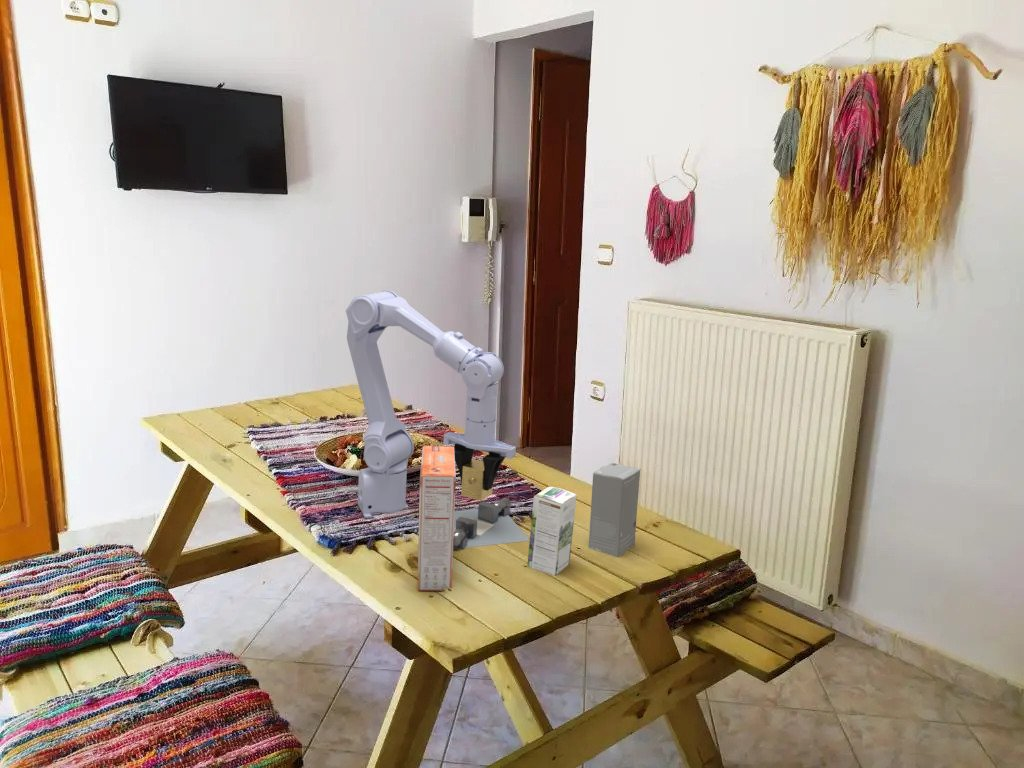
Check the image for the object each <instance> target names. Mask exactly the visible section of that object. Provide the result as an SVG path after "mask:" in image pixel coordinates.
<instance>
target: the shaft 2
mask: <svg viewBox="0 0 1024 768" xmlns="http://www.w3.org/2000/svg"><path fill="white" fill-rule="evenodd" d="M511 506H512V502H511V499H510V498H508V497H503V498H502V499H499V500H498V501H495V502H493V503H491V502H488V501H483V500H482V501H481V502H480V503H478V508H477V509H478V519H480V520H483V521H486V522H489V523H491V524H493V523H495V522H497V521H498V515H500V516H503V517H505V516H506V515H510V514H511V513H510V512H511Z"/></svg>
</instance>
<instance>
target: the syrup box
mask: <svg viewBox="0 0 1024 768" xmlns="http://www.w3.org/2000/svg"><path fill="white" fill-rule="evenodd" d="M577 496H578V494H576V493H575V492H572V491H568V490H566V489H563V488H560V487H555V486H547V487H546V488H544V489H543V490H542V491H540V492H539V493H537V494H535V495H533V500H532V501H533V502H532V511H531V512H532V514H531V522H530V523H531V524H530V534H529V535H530V536H529V539H530V541H529V544H528V553H527V554H528V556H527V565H526V567H528V568H531V569H533V570H536V571H538V572H543V573H545V574H549V575H552V576H557V575H558V574H559V573H561V572H562V571H563V570H564V569H565V568H566V567H567V566H569V565H570V563H571V562H570V561H571V552H572V543H573V535H574V534H573V533H574V527H575V526H574V525H575V516H576V515H575V514H576V507H577V506H576V504H577V498H578V497H577Z"/></svg>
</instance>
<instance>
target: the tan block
mask: <svg viewBox="0 0 1024 768" xmlns="http://www.w3.org/2000/svg"><path fill="white" fill-rule="evenodd" d="M484 477H485V472H484V463H483V460H482V461H481V460H478V459H472V461H471V462H469V463H467V464H465V465H464V466H463V473H462V484H461V491H460V492H461V493H460V494H461V497H466V498H469V499H473V500H477V501H481V502H483V500H485V499H486V498H488V497H489V496H491V495H492V494H493V487H494V485H493V486H492V488H491V489H489V490H488V491H486V490H484Z"/></svg>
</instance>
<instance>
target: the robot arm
mask: <svg viewBox="0 0 1024 768" xmlns="http://www.w3.org/2000/svg"><path fill="white" fill-rule="evenodd" d="M345 313H346V317H347V321H348V323H347V332H346V341H347V346H348V349H349V353H350V357H351V361H352V365H353V369H354V372H355V377H356V380H357V384H358V386H359V387H358V388H359V393H360V395H361V399H362V402H363V407H364V411H365V415H366V419H367V422H368V426H367V428H366V431H365V432H364V435H363V438H362V439H363V444H364V450H363V458H364V462H365V464H366V465H367V466H368V467H366V468H365V467H364V468H361V469H359V471H358V485H357V486H358V498H357V500H358V501H357V504H358V507H359V509H360V511H361V513H362V516H363V517H364V519H367V518H375V516H374V515H373V514H375V513H395V512H399V511H401V510H403V509H405V508H409V505H408V503H407V500H406V499H407V477H408V476H407V472H408V467H407V466H408V461H409V458H410V457H412V455H413V454H414V451H415V444H414V440H413V438H412V437H411V435H410V434H409V433H408V430H407V428H406V424H405V423H404V422H402V420H400V419H399V418H397V416H396V413H395V409H394V404H393V401H392V397H391V393H390V390H389V386H388V381H387V377H386V374H385V373H386V372H385V370H384V366H383V362H382V358H381V354H380V350H379V346H378V341H379V339H380V337H381V336H382V334H383V332H384V331H385V330H386V329H387V328H388V327H401V328H402V329H403V330H405V331H407V332H409V333H410V334H411V335H413V336H415V337H417V338H418V339H419V340H421V341H423V342H424V343H426V344H428V345H429V346H431V347H432V349H433V354H434V356H435V357H436V358H437V359H439V360H440V361H442V363H444V364H446V365H447V366H448V367H450V368H451V369H453V370H454V371H456V372H457V373H458V374H460V375H461V377H462V380H463V383H464V385H465V386H466V403H465V404H466V405H465V419H464V421H465V423H464V433H460V432H452V431H449V432H445V433H443V444H444V445H447V446H449V445H454V446H453V447H454V454H455V465H456V467H457V469H458V473H459V477H460V483H461V485H462V473H463V466H464V465H465V464H467V463H469V462H471V461H472V460H473V455H474V452H475V451H480V452H483V453H488V454H486V455H484V456H483V457H482V462H483V463H484V472H485V477H484V490H486V491H488V490H489V489H491V488H492V486H493V487H494V483H495V479H496V476H497V475H498V471H499V469H500V467H501V465H502V463H503V462H504V460H505V459H507V460H512V459H514V458H515V457H516V450H517V446H514V445H511V444H507V443H505V442H503V441H500V440H498V439H496V423H497V407H498V391H499V390H498V389H499V387H498V386H499V382H498V381H500V380H501V379H502V377H503V375H504V371H505V367H504V364H503V361H502V359H501V358H500V357H499V356H497V354H496V353H495V352H489V351H488V352H487V351H486V352H483V351H484V349H482V348H481V347H476V346H475V345H474V344H472V343H470V342H469V341H468V340H467V339H464V338H463V337H464V334H463V333H462V332H460V331H457V332H455V331H452V330H451V331H446V332H444V331H442V330H441V329H440V328H439V327H438V326H436V325H435V324H434V323H432V322H431V321H430V320H428V319H427V317H425V316H423V315H422V314H421V313H420V312H418V311H417V309H414V308H413V307H412V305H411V306H410V304H409V303H408V301H407V300H406V298H404V297H401V296H399V295H398V294H397V293H396V292H394V291H392V290H382V291H380V292H374V293H371V294H370V293H369V294H359V295H357V296H355V297H354V298H353V299H352V300H351V302H350V303H349V305H348V306H347V308H346V309H345Z"/></svg>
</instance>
